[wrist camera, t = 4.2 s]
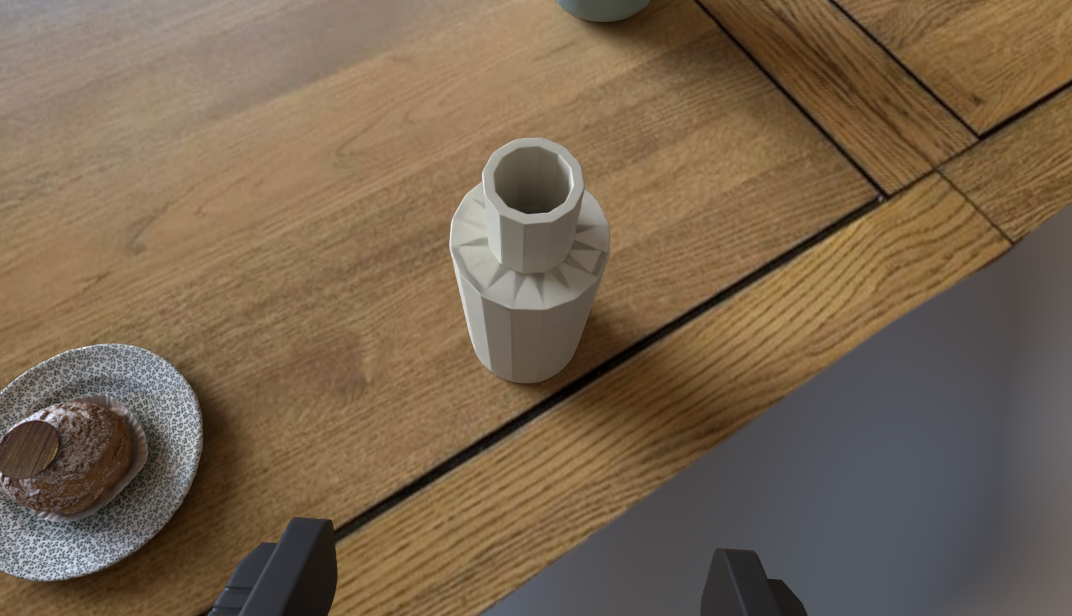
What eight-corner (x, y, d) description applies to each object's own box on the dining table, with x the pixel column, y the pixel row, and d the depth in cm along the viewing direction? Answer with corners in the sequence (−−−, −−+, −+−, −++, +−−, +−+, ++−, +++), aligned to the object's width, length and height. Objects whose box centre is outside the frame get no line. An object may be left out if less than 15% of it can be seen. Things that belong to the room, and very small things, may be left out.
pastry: (-50, 419, 32) (-138, 401, 27) (168, 313, 34) (119, 281, 30) (8, 630, 28) (-83, 648, 24) (246, 495, 31) (202, 489, 26)
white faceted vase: (595, 306, 35) (654, 141, 20) (553, 401, 33) (585, 296, 18) (499, 265, 36) (488, 78, 21) (452, 356, 34) (403, 219, 19)
